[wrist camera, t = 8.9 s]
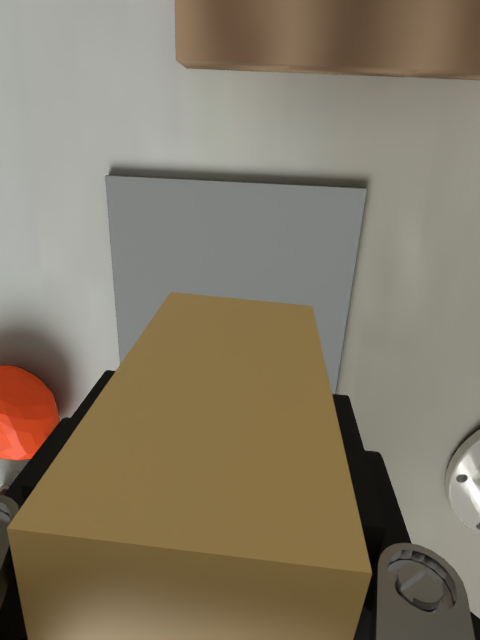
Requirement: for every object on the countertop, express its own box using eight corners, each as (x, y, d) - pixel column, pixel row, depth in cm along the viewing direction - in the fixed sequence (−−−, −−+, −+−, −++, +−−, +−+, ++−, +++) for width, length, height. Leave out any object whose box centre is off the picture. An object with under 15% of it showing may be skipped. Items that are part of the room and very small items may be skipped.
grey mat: (364, 187, 26) (366, 188, 26) (331, 405, 33) (332, 410, 32) (108, 174, 27) (105, 175, 26) (125, 390, 33) (122, 395, 33)
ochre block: (312, 305, 13) (372, 573, 5) (294, 423, 15) (317, 764, 7) (170, 291, 14) (5, 528, 5) (169, 410, 15) (44, 726, 7)
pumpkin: (42, 441, 37) (-8, 504, 31) (-33, 377, 34) (-101, 432, 29) (94, 406, 34) (49, 468, 28) (15, 333, 31) (-51, 385, 26)
